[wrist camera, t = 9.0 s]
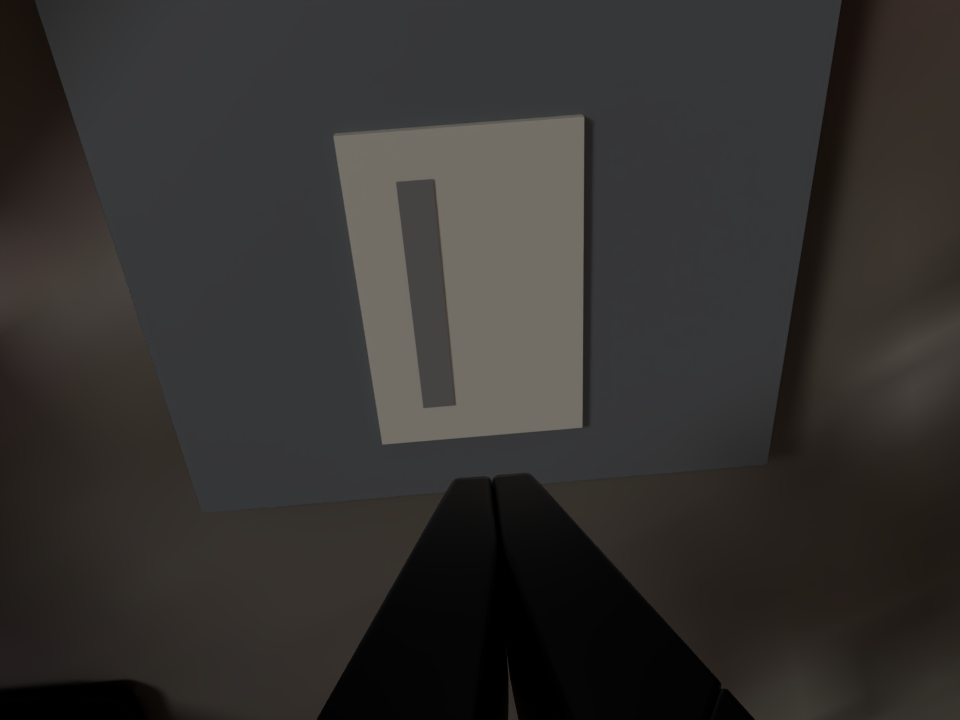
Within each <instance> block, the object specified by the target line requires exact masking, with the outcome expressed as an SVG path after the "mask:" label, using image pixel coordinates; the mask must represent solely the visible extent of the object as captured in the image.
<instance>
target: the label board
mask: <svg viewBox="0 0 960 720" xmlns="http://www.w3.org/2000/svg"><path fill="white" fill-rule="evenodd" d="M841 2H842V0H35V3H36V6H37V9H38V12H39V15H40V18H41V21H42V24H43V27H44V30H45V33H46V36H47V39H48V42H49V45H50V49H51V52H52V55H53V58H54V61H55V64H56V67H57V70H58V73H59V76H60V79H61V82H62V85H63V88H64V91H65V95H66V98H67V101H68V104H69V107H70V110H71V113H72V116H73V119H74V122H75V125H76V128H77V131H78V134H79V137H80V140H81V144H82V147H83V150H84V153H85V156H86V159H87V162H88V165H89V168H90V171H91V174H92V177H93V180H94V183H95V186H96V189H97V193H98V196H99V199H100V202H101V205H102V208H103V211H104V214H105V217H106V220H107V223H108V226H109V229H110V232H111V235H112V238H113V242H114V245H115V248H116V251H117V254H118V257H119V260H120V263H121V266H122V269H123V272H124V275H125V278H126V281H127V284H128V287H129V291H130V294H131V297H132V300H133V303H134V306H135V309H136V312H137V315H138V318H139V321H140V324H141V327H142V330H143V333H144V336H145V340H146V343H147V346H148V349H149V352H150V355H151V358H152V361H153V364H154V367H155V370H156V373H157V376H158V379H159V382H160V385H161V389H162V392H163V395H164V398H165V401H166V404H167V407H168V410H169V413H170V416H171V419H172V422H173V425H174V428H175V431H176V435H177V438H178V441H179V444H180V447H181V450H182V453H183V456H184V459H185V462H186V465H187V468H188V471H189V474H190V477H191V480H192V484H193V487H194V490H195V493H196V496H197V499H198V502H199V505H200V508H201V511H202V513H211V512H223V511H234V510H246V509H258V508H269V507H281V506H292V505H304V504H316V503H327V502H339V501H350V500H362V499H374V498H385V497H397V496H408V495H420V494H432V493H443V492H446V491H447V489H448V487H449V485H450V484H451V482H452V481H453V480H454V479H455V478H458V477H467V476H479V475H487V476H489V477H490V478H491V481H492V479H493V477H494V476H495V475H496V474H502V473H514V472H528V473H530V474H531V475H532V476H533V477H534V478H535V479H536V480H537V481H538V482H539V483H540V484H548V483H559V482H571V481H582V480H594V479H606V478H617V477H629V476H640V475H652V474H664V473H675V472H687V471H698V470H710V469H722V468H733V467H745V466H756V465H767V461H768V455H769V449H770V443H771V436H772V430H773V424H774V418H775V412H776V405H777V399H778V393H779V387H780V380H781V374H782V368H783V362H784V356H785V349H786V343H787V337H788V331H789V325H790V318H791V312H792V306H793V300H794V294H795V287H796V281H797V275H798V269H799V263H800V256H801V250H802V244H803V238H804V231H805V225H806V219H807V213H808V207H809V200H810V194H811V188H812V182H813V176H814V169H815V163H816V157H817V151H818V145H819V138H820V132H821V126H822V120H823V114H824V107H825V101H826V95H827V89H828V83H829V76H830V70H831V64H832V58H833V51H834V45H835V39H836V33H837V27H838V20H839V14H840V8H841Z"/></svg>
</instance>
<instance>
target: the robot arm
mask: <svg viewBox="0 0 960 720" xmlns="http://www.w3.org/2000/svg"><path fill="white" fill-rule="evenodd" d="M506 647H507V650H506ZM507 658H508V665H509V673H510V680H511V686H512V691H513V696H514V701H515V706H516V710H517V715H518V719H519V720H755V719H754V718H753V717H752V716H751V715H750V714H749V713H748V711H747V710H746V709H745V708H744V707H743V706H742V705H741V704H740V703H739V701H738V700H737V699H736V698H735V697H734V696H733V695H732V694H731V692H730V691H729V690H727V689H721V683H720V681H719V680H718V679H717V678H716V677H715V675H714V674H713V673H712V672H711V671H710V670H709V669H708V668H707V667H706V666H705V664H704V663H703V662H702V661H701V660H700V659H699V658H698V657H697V656H696V655H695V653H694V652H693V651H692V650H691V649H690V648H689V647H688V646H687V645H686V644H685V642H684V641H683V640H682V639H681V638H680V637H679V636H678V635H677V634H676V633H675V632H674V630H673V629H672V628H671V627H670V626H669V625H668V624H667V623H666V622H665V621H664V619H663V618H662V617H661V616H660V615H659V614H658V613H657V612H656V611H655V610H654V608H653V607H652V606H651V605H650V604H649V603H648V602H647V601H646V600H645V599H644V597H643V596H642V595H641V594H640V593H639V592H638V591H637V590H636V589H635V588H634V586H633V585H632V584H631V583H630V582H629V581H628V580H627V579H626V578H625V577H624V575H623V574H622V573H621V572H620V571H619V570H618V569H617V568H616V567H615V566H614V565H613V563H612V562H611V561H610V560H609V559H608V558H607V557H606V556H605V555H604V554H603V552H602V551H601V550H600V549H599V548H598V547H597V546H596V545H595V544H594V543H593V541H592V540H591V539H590V538H589V537H588V536H587V535H586V534H585V533H584V532H583V530H582V529H581V528H580V527H579V526H578V525H577V524H576V523H575V522H574V521H573V519H572V518H571V517H570V516H569V515H568V514H567V513H566V512H565V511H564V510H563V508H562V507H561V506H560V505H559V504H558V503H557V502H556V501H555V500H554V499H553V497H552V496H551V495H550V494H549V493H548V492H547V491H546V490H545V489H544V488H543V487H542V485H541V484H540V483H539V482H538V481H537V480H536V479H535V478H534V477H533V476H532V475H531V474H530V473H528V472H514V473H502V474H496V475H495V476H494V477H493V479H492V481H491V478H490V477H489V476H487V475H479V476H467V477H458V478H455V479H454V480H453V481H452V482H451V484H450V485H449V487H448V489H447V491H446V492H445V494H444V496H443V498H442V500H441V501H440V503H439V505H438V507H437V508H436V510H435V512H434V514H433V515H432V517H431V519H430V521H429V522H428V524H427V526H426V528H425V529H424V531H423V533H422V535H421V537H420V538H419V540H418V542H417V544H416V545H415V547H414V549H413V551H412V552H411V554H410V556H409V558H408V559H407V561H406V563H405V565H404V566H403V568H402V570H401V572H400V573H399V575H398V577H397V579H396V581H395V582H394V584H393V586H392V588H391V589H390V591H389V593H388V595H387V596H386V598H385V600H384V602H383V603H382V605H381V607H380V609H379V610H378V612H377V614H376V616H375V618H374V619H373V621H372V623H371V625H370V626H369V628H368V630H367V632H366V633H365V635H364V637H363V639H362V640H361V642H360V644H359V646H358V647H357V649H356V651H355V653H354V655H353V656H352V658H351V660H350V662H349V663H348V665H347V667H346V669H345V670H344V672H343V674H342V676H341V677H340V679H339V681H338V683H337V684H336V686H335V688H334V690H333V692H332V693H331V695H330V697H329V699H328V700H327V702H326V704H325V706H324V707H323V709H322V711H321V713H320V714H319V716H318V718H317V720H508V703H509V700H508V665H507ZM0 720H147V719H146V717H145V715H144V713H143V711H142V708H141V706H140V704H139V702H138V700H137V698H136V695H135V694H134V693H133V691H132V690H131V689H129V688H127V687H126V686H122V685H119V684H106V685H95V686H84V687H73V688H62V689H51V690H40V691H29V692H17V693H6V694H0Z"/></svg>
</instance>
